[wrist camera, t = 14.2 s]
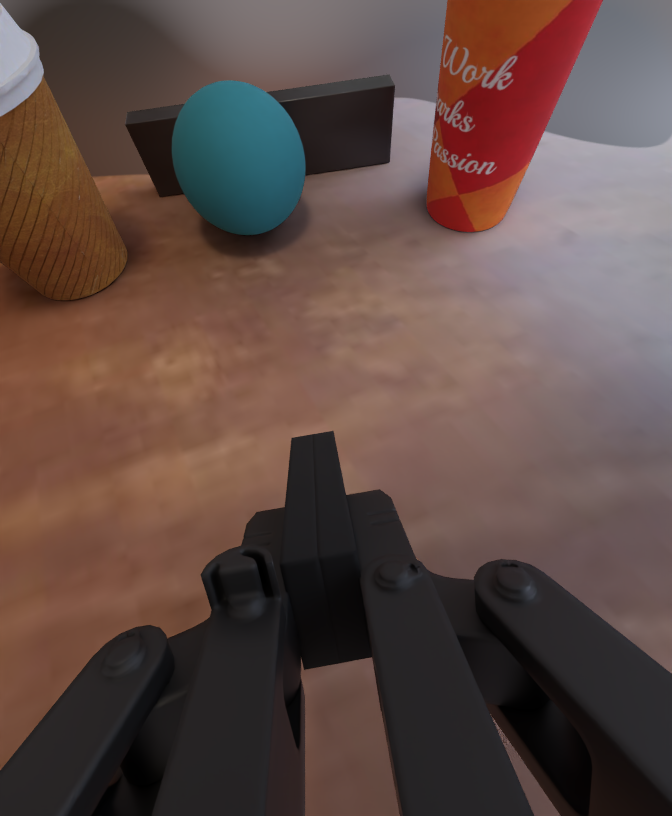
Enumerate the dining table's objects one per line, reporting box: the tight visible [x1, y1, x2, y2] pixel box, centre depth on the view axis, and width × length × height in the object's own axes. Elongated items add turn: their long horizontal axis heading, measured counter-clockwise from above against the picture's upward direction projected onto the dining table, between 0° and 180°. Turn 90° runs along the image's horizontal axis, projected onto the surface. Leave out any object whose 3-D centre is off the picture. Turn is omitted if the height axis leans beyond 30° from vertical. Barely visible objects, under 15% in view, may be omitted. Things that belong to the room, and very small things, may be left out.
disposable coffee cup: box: [0, 3, 127, 300], centre depth 21 cm, size 10×10×12 cm
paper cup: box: [427, 0, 603, 232], centre depth 21 cm, size 8×8×14 cm
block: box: [125, 75, 395, 197], centre depth 28 cm, size 18×2×5 cm, turn 100°
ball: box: [172, 81, 305, 235], centre depth 24 cm, size 8×8×8 cm
